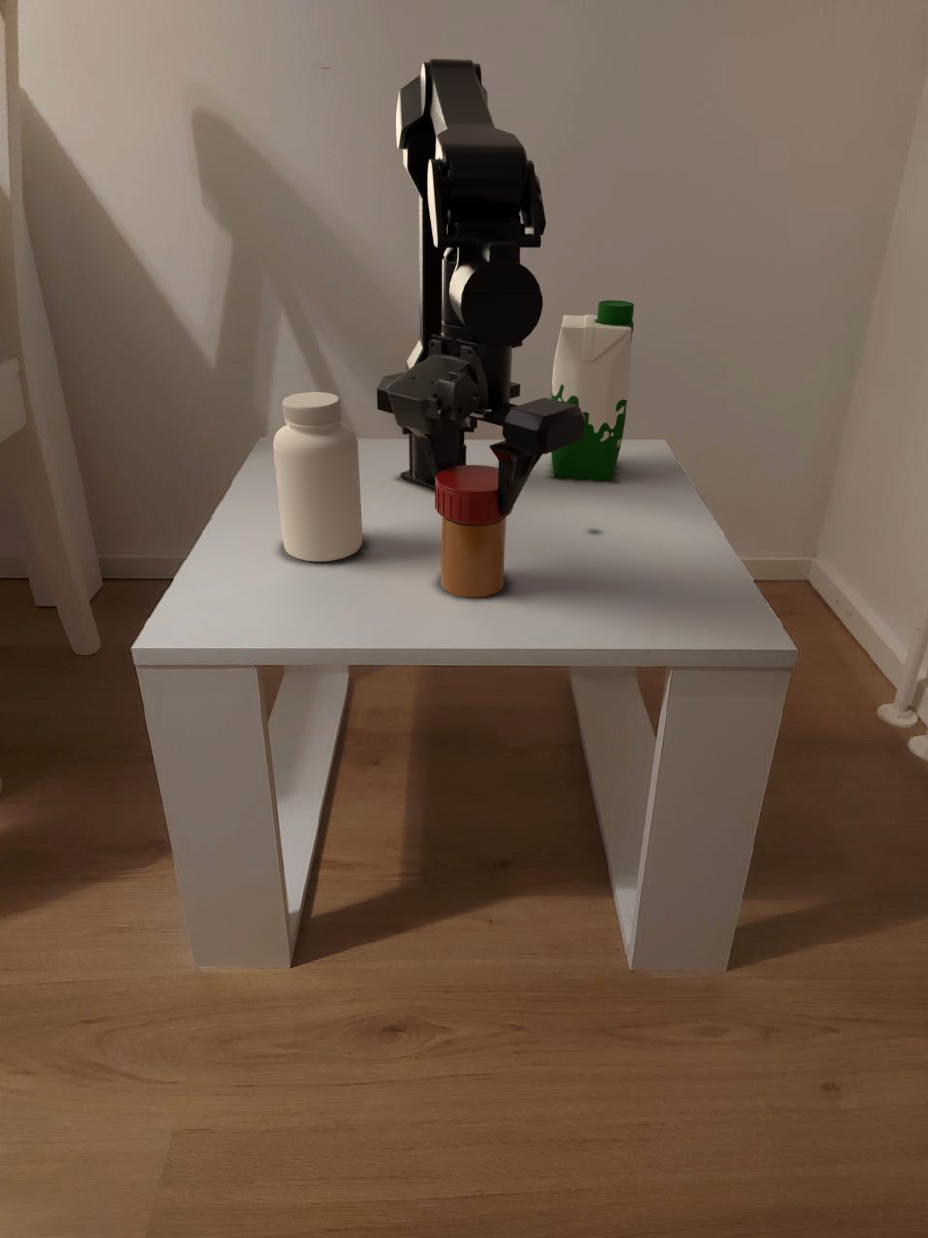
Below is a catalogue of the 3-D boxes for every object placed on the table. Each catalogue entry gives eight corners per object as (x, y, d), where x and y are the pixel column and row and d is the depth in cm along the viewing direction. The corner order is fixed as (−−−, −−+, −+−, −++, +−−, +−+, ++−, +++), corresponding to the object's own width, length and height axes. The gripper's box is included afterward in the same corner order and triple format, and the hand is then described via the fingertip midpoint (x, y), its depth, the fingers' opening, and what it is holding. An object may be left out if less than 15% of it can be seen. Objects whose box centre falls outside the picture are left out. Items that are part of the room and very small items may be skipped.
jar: (428, 583, 81) (427, 485, 76) (469, 564, 84) (471, 469, 80) (474, 604, 77) (477, 502, 73) (516, 583, 81) (520, 485, 76)
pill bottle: (267, 556, 85) (251, 404, 78) (307, 526, 92) (296, 384, 85) (340, 569, 83) (330, 414, 76) (376, 537, 90) (370, 392, 82)
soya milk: (619, 484, 104) (638, 310, 95) (544, 479, 105) (555, 307, 96) (618, 461, 112) (636, 297, 102) (548, 456, 113) (559, 294, 103)
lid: (528, 509, 77) (530, 478, 76) (474, 530, 73) (475, 498, 72) (473, 489, 81) (473, 459, 80) (419, 507, 77) (418, 476, 76)
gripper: (323, 318, 69) (335, 501, 77) (504, 355, 59) (496, 563, 66) (420, 301, 77) (422, 470, 84) (596, 332, 66) (580, 522, 74)
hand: (473, 503), depth 77 cm, fingers closed on lid, 7 cm apart
